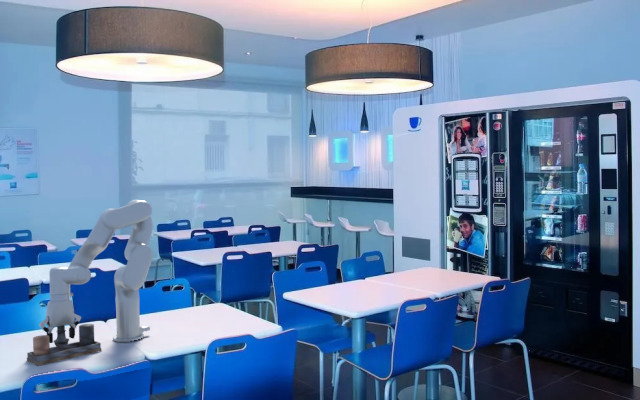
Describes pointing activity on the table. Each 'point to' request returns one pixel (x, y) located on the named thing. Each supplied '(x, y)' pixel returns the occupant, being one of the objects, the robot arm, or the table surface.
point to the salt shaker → (61, 336)
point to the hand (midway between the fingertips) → (61, 340)
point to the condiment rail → (63, 347)
